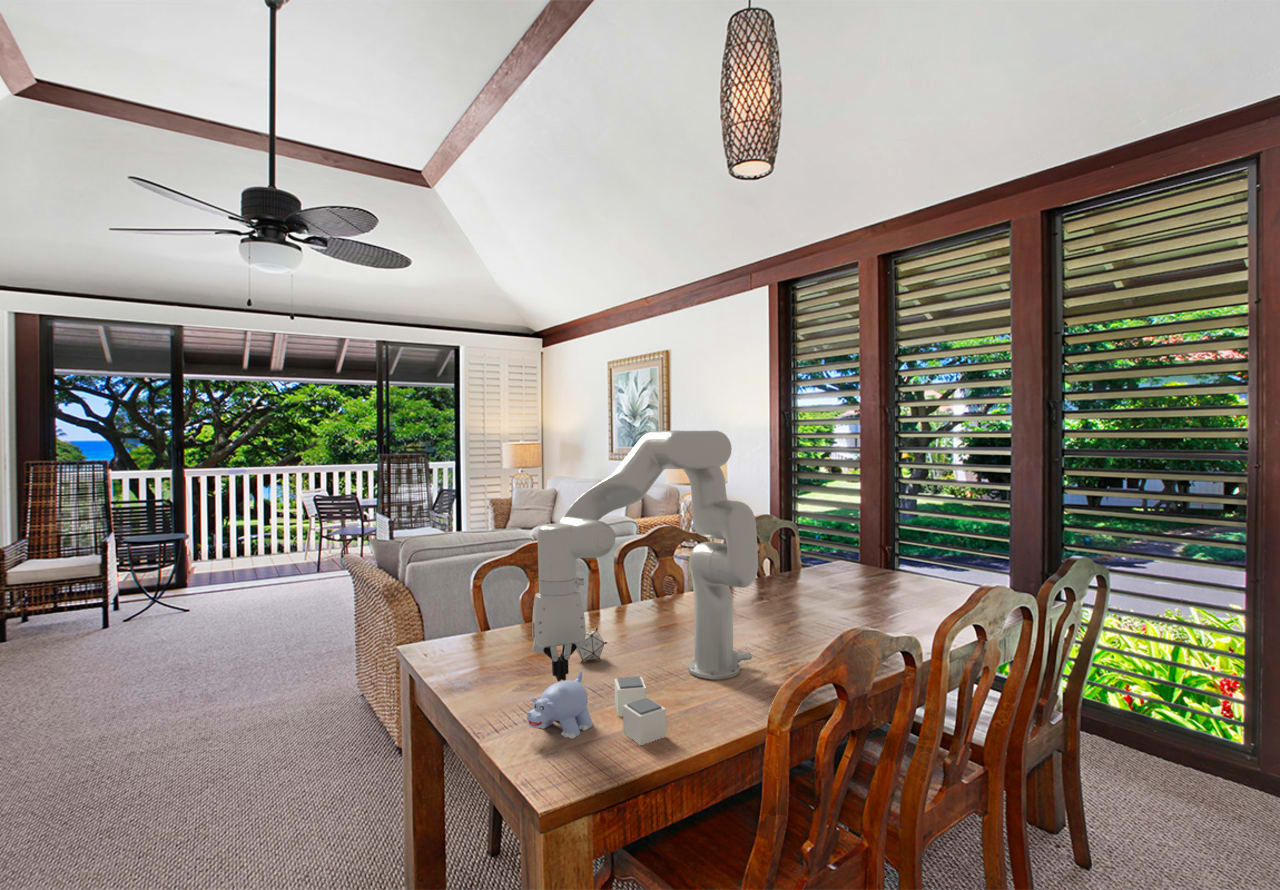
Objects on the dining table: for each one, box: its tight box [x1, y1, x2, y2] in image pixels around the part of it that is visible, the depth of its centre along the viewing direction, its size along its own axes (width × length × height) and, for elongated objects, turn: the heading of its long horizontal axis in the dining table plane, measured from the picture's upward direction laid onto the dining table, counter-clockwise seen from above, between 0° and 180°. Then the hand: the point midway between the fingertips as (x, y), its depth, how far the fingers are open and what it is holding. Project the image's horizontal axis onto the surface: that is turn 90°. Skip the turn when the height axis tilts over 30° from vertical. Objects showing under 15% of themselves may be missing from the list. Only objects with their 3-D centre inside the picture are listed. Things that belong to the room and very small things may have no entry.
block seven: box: [622, 697, 667, 746], centre depth 121 cm, size 6×6×6 cm
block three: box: [613, 675, 647, 717], centre depth 133 cm, size 6×6×6 cm
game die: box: [575, 627, 608, 664], centre depth 162 cm, size 9×8×10 cm
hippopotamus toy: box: [526, 669, 594, 739], centre depth 124 cm, size 11×15×10 cm
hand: (560, 678), depth 124 cm, fingers closed
